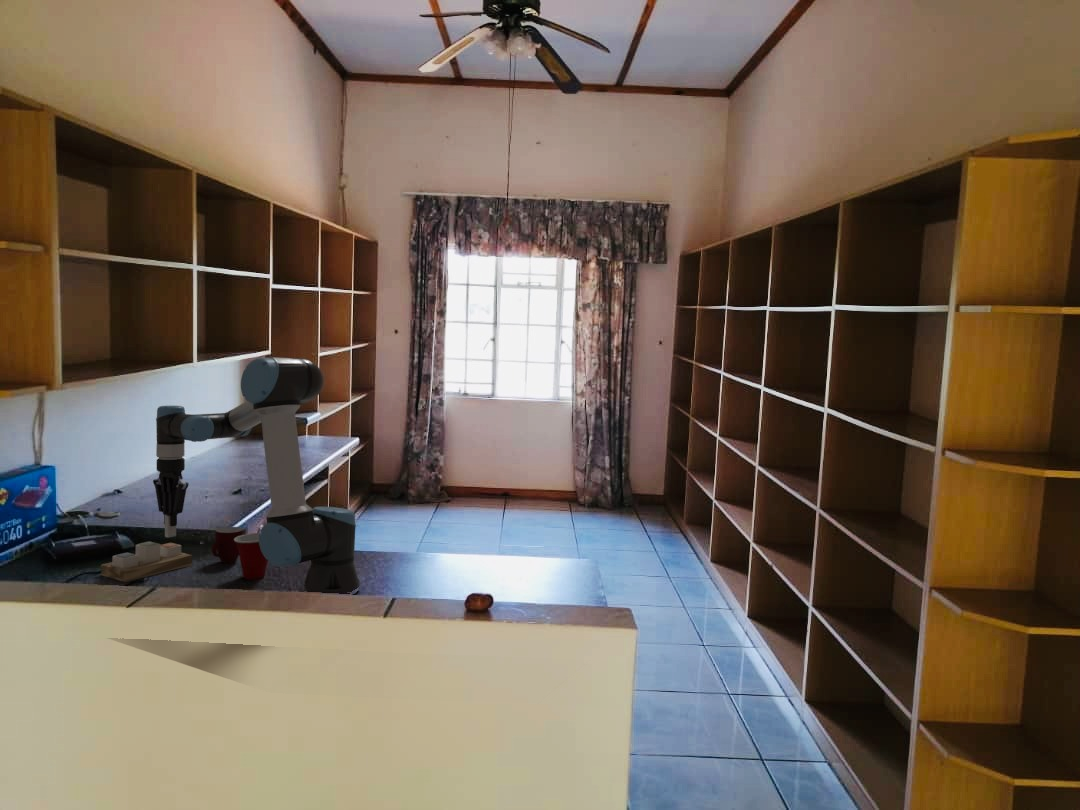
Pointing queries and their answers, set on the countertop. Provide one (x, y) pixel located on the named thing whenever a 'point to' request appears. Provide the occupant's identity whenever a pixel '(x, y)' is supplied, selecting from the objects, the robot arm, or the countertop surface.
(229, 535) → the mug
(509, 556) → the countertop surface
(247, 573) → the plastic cup
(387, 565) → the countertop surface
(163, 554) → the beige cube
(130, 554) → the off-white cube
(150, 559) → the beige wooden cube
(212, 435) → the robot arm
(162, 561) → the keypad board
